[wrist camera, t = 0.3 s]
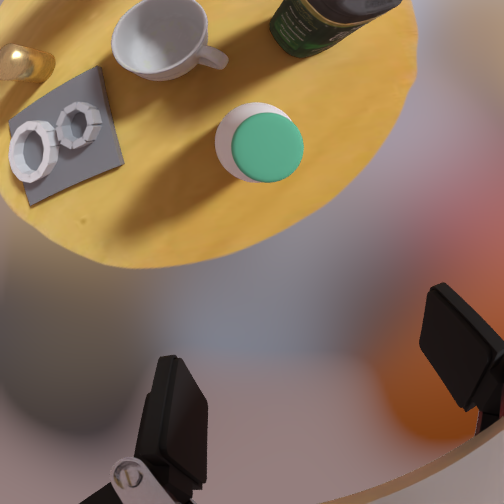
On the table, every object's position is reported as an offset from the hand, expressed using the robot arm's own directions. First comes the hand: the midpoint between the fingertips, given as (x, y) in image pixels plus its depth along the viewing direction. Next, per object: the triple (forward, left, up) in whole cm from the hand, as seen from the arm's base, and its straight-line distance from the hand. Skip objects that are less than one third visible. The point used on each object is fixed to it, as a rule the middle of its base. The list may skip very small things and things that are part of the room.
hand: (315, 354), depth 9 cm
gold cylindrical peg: (-28, -26, -31) cm, 49 cm away
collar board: (-15, -25, -31) cm, 42 cm away
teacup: (-20, -5, -31) cm, 37 cm away
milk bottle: (-6, +1, -31) cm, 31 cm away
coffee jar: (-20, +12, -31) cm, 39 cm away
